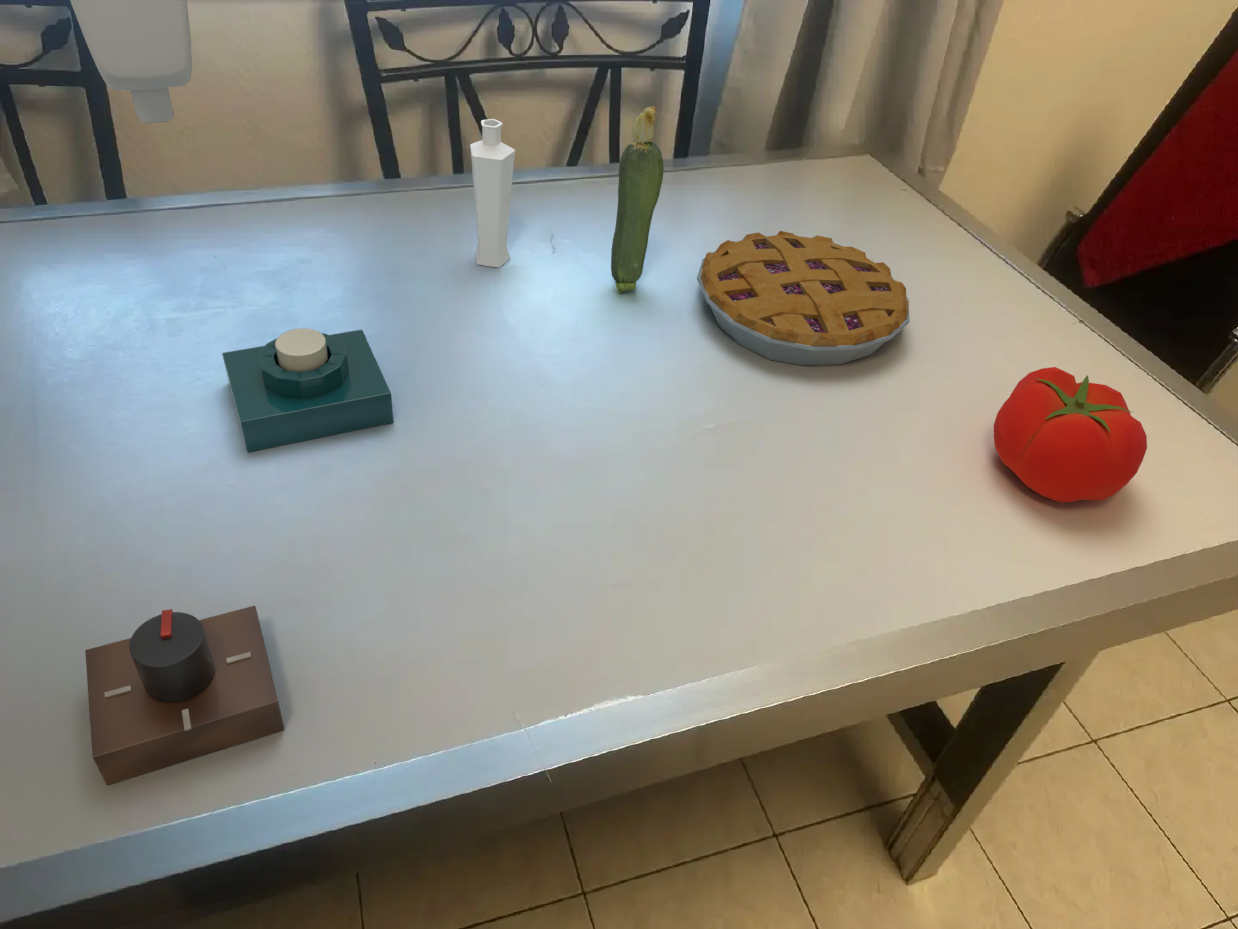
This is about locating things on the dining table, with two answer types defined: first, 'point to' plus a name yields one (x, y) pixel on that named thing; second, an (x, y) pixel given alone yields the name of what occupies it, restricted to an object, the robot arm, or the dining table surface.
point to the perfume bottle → (492, 193)
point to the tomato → (1069, 437)
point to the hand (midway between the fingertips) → (154, 112)
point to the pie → (802, 298)
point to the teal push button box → (307, 393)
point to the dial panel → (181, 702)
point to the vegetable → (636, 201)
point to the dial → (172, 656)
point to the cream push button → (301, 350)
